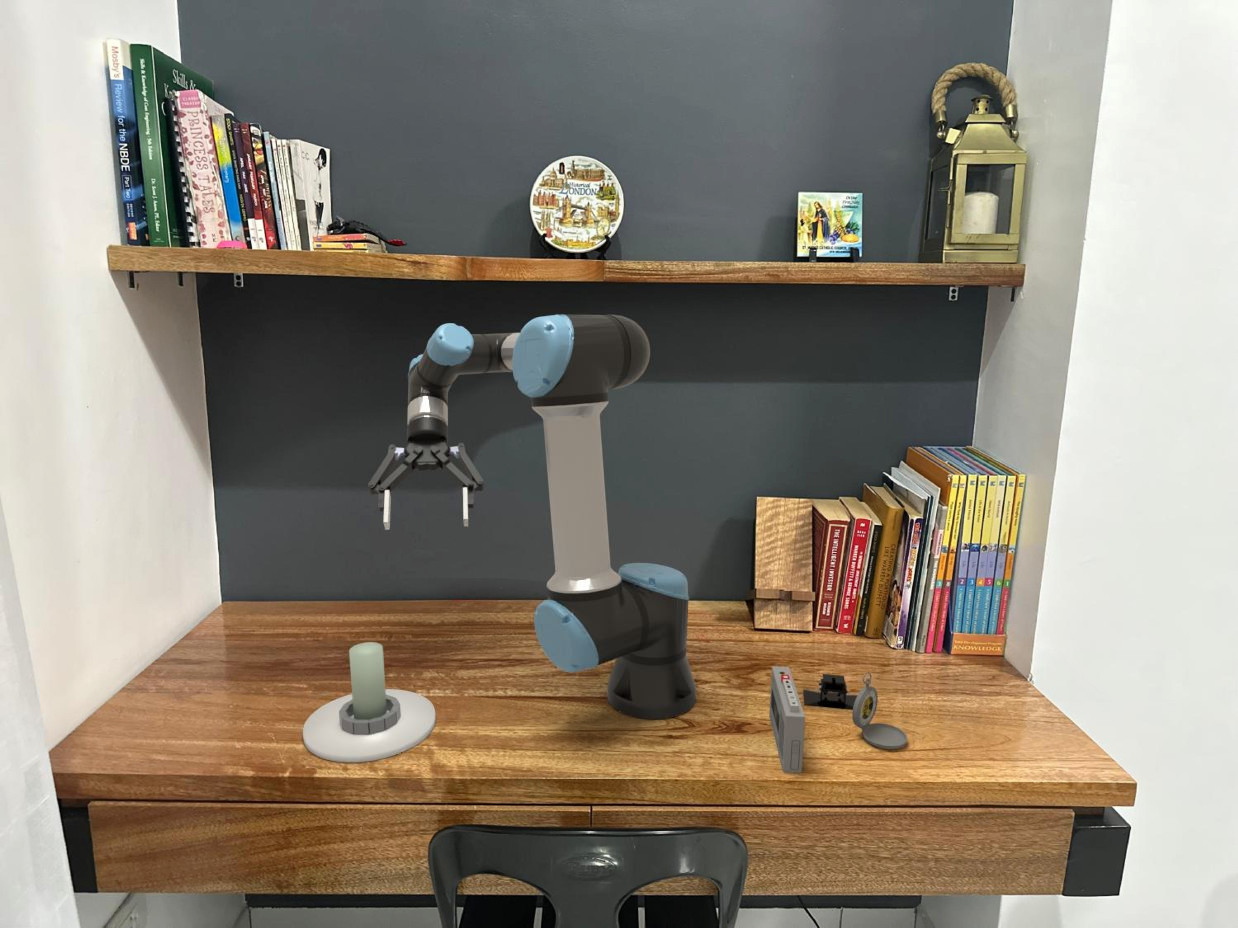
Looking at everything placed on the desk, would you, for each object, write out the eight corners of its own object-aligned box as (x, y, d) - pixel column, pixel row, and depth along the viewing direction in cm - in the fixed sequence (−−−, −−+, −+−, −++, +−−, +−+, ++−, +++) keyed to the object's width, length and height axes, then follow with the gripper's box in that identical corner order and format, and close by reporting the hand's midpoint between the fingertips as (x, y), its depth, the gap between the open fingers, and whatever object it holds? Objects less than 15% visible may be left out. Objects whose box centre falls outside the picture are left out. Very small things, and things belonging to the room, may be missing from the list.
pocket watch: (909, 754, 120) (915, 693, 118) (852, 747, 122) (856, 687, 120) (902, 726, 128) (907, 668, 126) (848, 720, 130) (852, 663, 128)
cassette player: (769, 716, 131) (772, 660, 129) (785, 717, 131) (789, 661, 128) (782, 772, 115) (786, 709, 113) (801, 773, 115) (805, 710, 113)
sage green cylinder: (390, 711, 129) (386, 642, 126) (381, 727, 124) (377, 656, 122) (359, 711, 129) (355, 642, 126) (349, 727, 124) (344, 656, 122)
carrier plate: (447, 695, 136) (446, 678, 136) (418, 762, 117) (417, 743, 116) (330, 695, 136) (328, 677, 136) (282, 761, 117) (280, 742, 116)
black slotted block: (795, 709, 134) (796, 684, 133) (794, 688, 141) (796, 664, 140) (871, 717, 132) (874, 692, 131) (867, 696, 139) (869, 672, 138)
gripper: (494, 436, 157) (498, 531, 146) (362, 439, 153) (355, 537, 141) (494, 413, 151) (498, 510, 139) (356, 415, 146) (349, 516, 135)
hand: (426, 524), depth 140 cm, fingers open, 13 cm apart
